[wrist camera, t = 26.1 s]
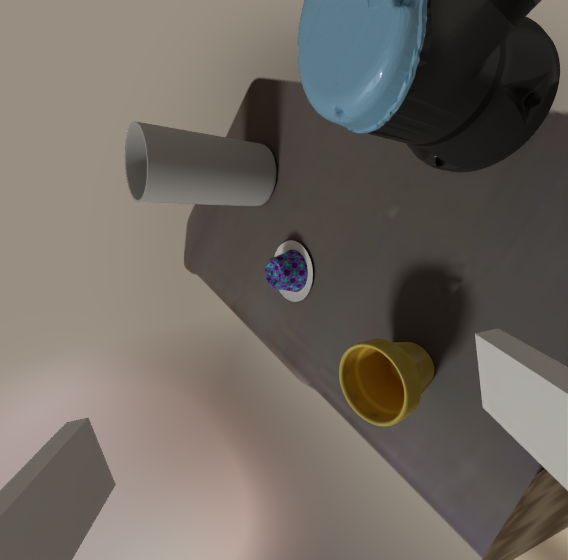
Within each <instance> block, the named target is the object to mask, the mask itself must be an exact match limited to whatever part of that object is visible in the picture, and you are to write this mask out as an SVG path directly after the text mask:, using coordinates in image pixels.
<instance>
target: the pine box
mask: <svg viewBox="0 0 568 560" xmlns="http://www.w3.org/2000/svg"><path fill="white" fill-rule="evenodd" d="M482 560H568V491H567V490H566V489H565V488H564V487H563V486H562V485H561V484H560V483H559V482H558V481H557V480H556V479H555V478H554V477H553V476H552V475H551V474H550V473H549V472H548V471H547V470H546V469H544V470H543V471H541V472H540V473H539V474H537V475H536V476H535V477H534V479H533V481H532V482H531V484H530V485H529V487H528V488H527V490H526V491H525V493H524V495H523V496H522V498H521V499H520V501H519V502H518V504H517V506H516V507H515V509H514V510H513V512H512V513H511V515H510V517H509V518H508V520H507V521H506V523H505V524H504V526H503V528H502V529H501V531H500V532H499V534H498V535H497V537H496V539H495V540H494V542H493V543H492V545H491V546H490V548H489V550H488V551H487V553H486V554H485V556H484V557H483V559H482Z"/></svg>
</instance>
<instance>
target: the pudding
mask: <svg viewBox="0 0 568 560" xmlns="http://www.w3.org/2000/svg"><path fill="white" fill-rule="evenodd" d="M289 250H293V251H291V252H289ZM294 250H297V251H298V252H300V253H301V254H302V255H303V257H304V258H303V257H302V256H299V254H298V252H297V251H294ZM287 251H288V252H287ZM304 259H305V260H304ZM305 261H306V263H307V268H308V272H307V268H306V267H305ZM265 270H266V279H267V280H268V283H269V285H270V286H272V287H274V288H275V289H278V290H279V291H280V293H281V294H282V295H283V296H284V297H285V298H286V299H288V300H290V301H294V302H296V301H300V300H302V299H303V298H305V297H306V296H307V294H308V293H309V291H310V288H311V285H312V281H313V268H312V263H311V260H310V257H309V255H308V253H307V251H306V250H305V248H304V247H303V246H302V245H301V244H300V243H298V242H296V241H292V240H290V241H286V242H284V243H282V244H281V245H280V246H279V248H278V249H277V251H276V253H275V256H274V257H273V258H271V259H270V260H269V261H268V264H267V265H266V269H265ZM307 274H308V279H307V282H306V285H305V279H306V278H307ZM304 286H305V287H304ZM303 287H304V288H303ZM299 288H303V289H302V290H301V291H299V292H297V291H298V290H299ZM292 291H294V292H292Z"/></svg>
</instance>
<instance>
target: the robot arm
mask: <svg viewBox="0 0 568 560" xmlns="http://www.w3.org/2000/svg"><path fill="white" fill-rule="evenodd" d="M540 1H541V0H304V4H303V8H302V13H301V18H300V25H299V34H298V46H299V56H298V57H299V58H298V65H299V73H300V78H301V82H302V85H303V88H304V91H305V94H306V96H307V98H308V100H309V101H310V103H311V105H312V106H313V107H314V109H315V110H316V111H317V112H318V113H319V114H320V115H321V116H323V117H324V118H326V119H327V120H329V121H331V122H334V123H336V124H339V125H341V126H344V127H346V128H347V129H348V130H352V131H353V132H356V133H367V134H371V135H375V136H379V137H383V138H387V139H391V140H395V141H399V142H403V143H406V144H407V145H408V146H409V148H410V149H411V150H412V151H413V153H414V154H415V155H416V156H417V157H418V158H419V159H420V160H422V161H423V162H424V163H426V164H428V165H430V166H432V167H434V168H437V169H441V170H446V171H451V172H470V171H475V170H480V169H483V168H486V167H489V166H491V165H493V164H496V163H498V162H499V161H501V160H503V159H505V158H506V157H508V156H509V155H511V154H512V153H514V152H515V151H516V150H517V149H519V148H520V147H521V146H522V145H523V144H524V143H525V142H526V141H527V140H528V139H529V138H530V137H531V136H532V135H533V134H534V133H535V132H536V130H537V129H538V128H539V126H540V125H541V124H542V122H543V121H544V119H545V117H546V116H547V114H548V112H549V110H550V108H551V106H552V103H553V101H554V98H555V96H556V92H557V89H558V84H559V77H560V63H559V57H558V53H557V50H556V47H555V45H554V43H553V41H552V40H551V38H550V37H549V36H548V35H547V33H546V32H545V31H544V30H543V29H542V28H541V26H540V25H538V24H537V23H536V22H534V21H533V20H531V19H530V18H528V17H525V16H526V15H527V14H528V13H529V12H530V11H531V10H532V9H533V8H534V7H535V6H536V5H537V4H538V3H539V2H540ZM475 338H476V348H477V357H478V367H479V376H480V386H481V395H482V405H483V408H484V409H485V410H486V411H487V412H488V413H489V414H490V415H491V416H492V417H493V418H494V419H495V420H496V421H497V422H498V423H499V424H500V425H501V426H502V427H503V428H504V429H505V430H506V431H507V432H508V433H509V434H510V435H511V436H512V437H513V438H514V439H516V440H517V441H518V442H519V443H520V444H521V445H522V446H523V447H524V448H525V449H526V450H527V451H528V452H529V453H530V454H531V455H532V456H533V457H534V458H535V459H536V460H537V461H538V462H539V463H540V464H541V465H542V466H543V467H544V468H545V469H546V470H547V471H548V472H549V473H550V474H551V475H552V476H553V477H554V478H555V479H556V480H557V481H558V482H559V483H560V484H561V485H562V486H563V487H564V488H565V489H566V490H567V491H568V367H566V366H565V365H563V364H561V363H559V362H557V361H556V360H554V359H552V358H550V357H549V356H547V355H545V354H543V353H541V352H540V351H538V350H536V349H534V348H532V347H531V346H529V345H527V344H525V343H523V342H522V341H520V340H518V339H516V338H514V337H513V336H511V335H509V334H507V333H505V332H504V331H502V330H500V329H494V330H490V331H485V332H480V333H476V334H475ZM114 486H115V482H114V480H113V477H112V475H111V472H110V470H109V468H108V465H107V463H106V460H105V457H104V455H103V453H102V450H101V448H100V445H99V443H98V441H97V438H96V435H95V433H94V430H93V428H92V426H91V423H90V421H89V419H88V418H85V419H80V420H76V421H71V422H67V423H66V424H65V425H64V426H63V427H62V428H61V429H60V430H59V431H58V432H57V433H56V434H55V435H54V436H53V437H52V438H51V439H50V440H49V441H48V442H47V443H46V444H45V445H44V446H43V447H42V448H41V449H40V450H39V452H38V453H36V454H35V456H34V457H33V458H32V459H31V460H30V461H29V462H28V463H27V464H26V465H25V466H24V467H23V468H22V469H21V470H20V471H19V472H18V473H17V474H16V475H15V476H14V477H13V478H12V479H11V480H10V481H9V482H8V483H7V484H6V485H5V486H4V487H3V488H2V490H0V560H72V559H73V557H74V555H75V553H76V552H77V550H78V548H79V547H80V545H81V543H82V541H83V540H84V538H85V536H86V535H87V533H88V531H89V529H90V528H91V526H92V524H93V522H94V521H95V519H96V517H97V516H98V514H99V512H100V510H101V509H102V507H103V505H104V503H105V502H106V500H107V498H108V497H109V495H110V493H111V491H112V490H113V488H114Z"/></svg>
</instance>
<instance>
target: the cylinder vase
mask: <svg viewBox="0 0 568 560" xmlns="http://www.w3.org/2000/svg"><path fill="white" fill-rule="evenodd" d="M125 169H126V177H127V182H128V187H129V190H130V193H131V195H132V197H133V199H134V200H135V201H136V202H151V203H179V204H209V205H239V206H260V205H263V204H264V203H266V202H267V201H268V199H269V198H270V197H271V195H272V193H273V190H274V187H275V183H276V175H277V171H276V163H275V159H274V156H273V154H272V152H271V151H270V149H269V148H268V147H267V146H265V145H263V144H260V143H254V142H248V141H243V140H237V139H231V138H225V137H220V136H214V135H208V134H203V133H197V132H191V131H186V130H179V129H174V128H169V127H163V126H157V125H152V124H146V123H140V122H132V123H131V125H130V127H129V129H128V132H127V137H126V145H125Z"/></svg>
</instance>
